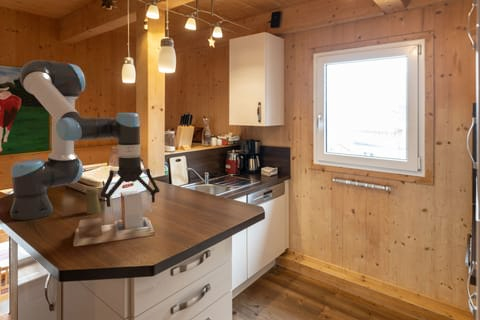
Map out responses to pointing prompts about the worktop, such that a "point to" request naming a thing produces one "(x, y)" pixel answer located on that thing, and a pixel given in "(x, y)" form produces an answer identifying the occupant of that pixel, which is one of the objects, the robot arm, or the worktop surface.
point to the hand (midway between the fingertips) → (131, 213)
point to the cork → (93, 201)
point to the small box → (131, 210)
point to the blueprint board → (108, 231)
